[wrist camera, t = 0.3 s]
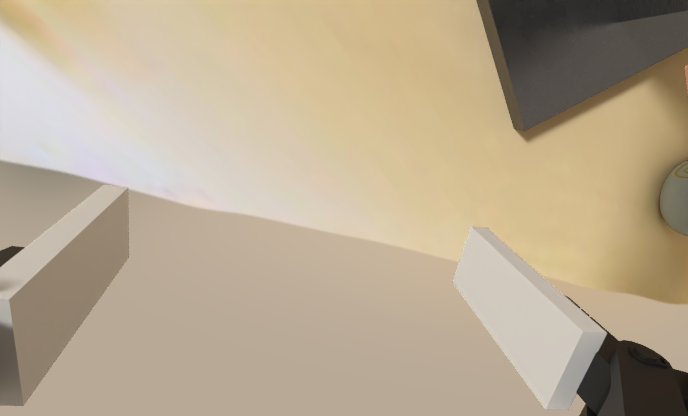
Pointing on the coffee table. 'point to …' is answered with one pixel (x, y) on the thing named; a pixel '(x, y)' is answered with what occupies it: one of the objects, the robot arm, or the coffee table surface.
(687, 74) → the block
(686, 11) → the stand
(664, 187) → the air freshener
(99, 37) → the coffee table surface
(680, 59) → the coffee table surface
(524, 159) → the coffee table surface
